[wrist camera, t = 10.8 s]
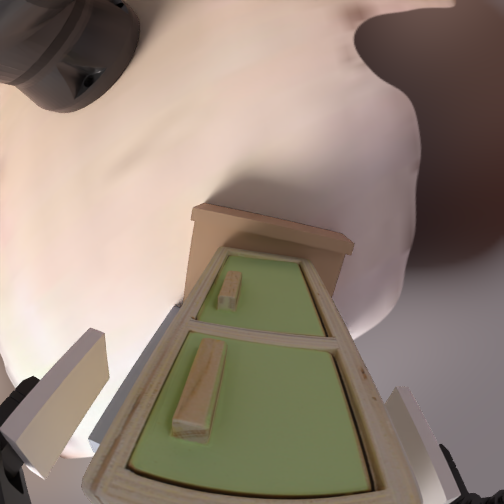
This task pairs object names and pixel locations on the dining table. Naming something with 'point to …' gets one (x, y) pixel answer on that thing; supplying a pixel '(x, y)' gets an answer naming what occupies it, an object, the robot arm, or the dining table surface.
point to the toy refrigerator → (253, 402)
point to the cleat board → (247, 238)
